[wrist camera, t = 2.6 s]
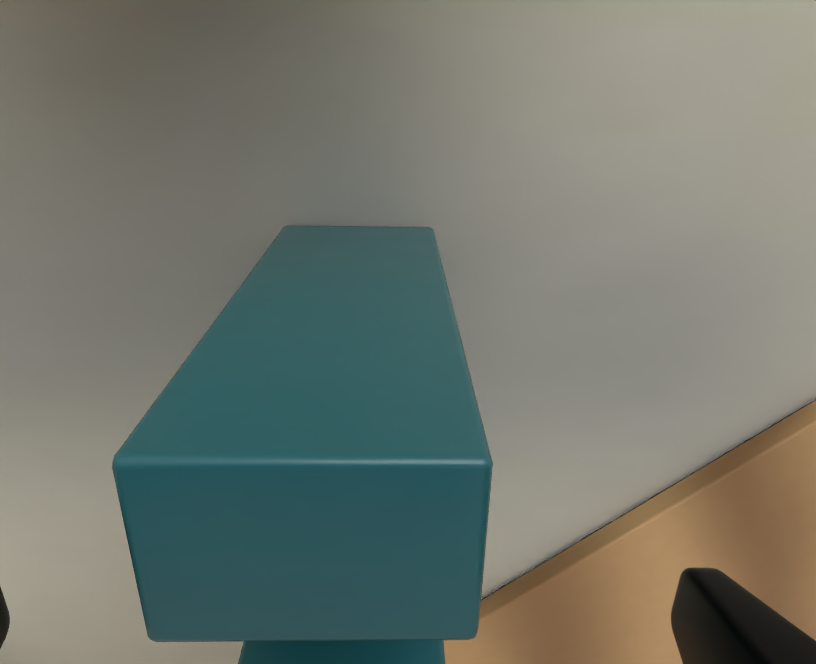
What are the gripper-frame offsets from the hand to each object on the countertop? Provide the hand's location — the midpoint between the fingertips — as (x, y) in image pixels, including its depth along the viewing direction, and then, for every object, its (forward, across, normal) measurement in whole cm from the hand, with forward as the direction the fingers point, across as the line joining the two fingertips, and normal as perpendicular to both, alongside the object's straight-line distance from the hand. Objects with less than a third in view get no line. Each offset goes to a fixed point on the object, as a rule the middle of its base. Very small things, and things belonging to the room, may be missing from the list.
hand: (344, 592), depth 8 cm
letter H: (+6, 0, 0) cm, 6 cm away
